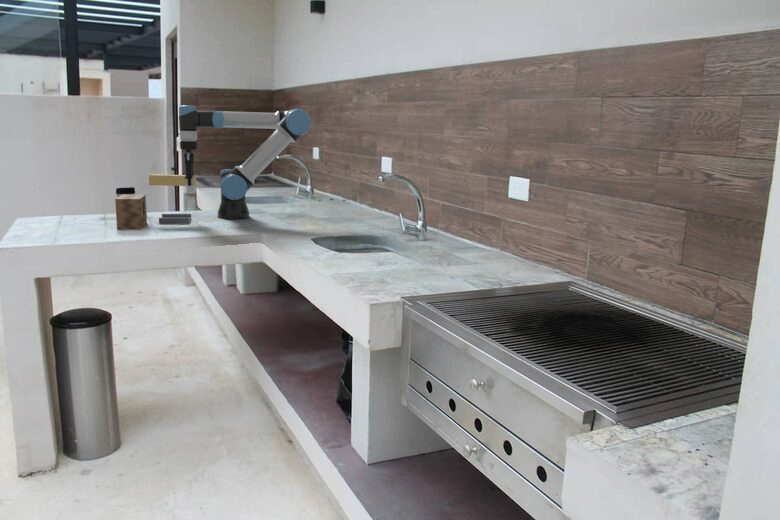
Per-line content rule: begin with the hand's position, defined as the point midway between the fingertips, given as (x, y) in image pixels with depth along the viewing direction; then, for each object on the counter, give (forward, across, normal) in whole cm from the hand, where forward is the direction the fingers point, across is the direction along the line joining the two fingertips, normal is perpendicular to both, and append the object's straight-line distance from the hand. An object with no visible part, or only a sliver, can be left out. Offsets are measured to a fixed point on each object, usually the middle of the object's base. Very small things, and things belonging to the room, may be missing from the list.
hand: (190, 191), depth 299 cm
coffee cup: (+14, -6, -29) cm, 33 cm away
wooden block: (+14, +12, -24) cm, 30 cm away
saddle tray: (+14, 0, -7) cm, 15 cm away
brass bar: (-3, 0, -8) cm, 8 cm away
